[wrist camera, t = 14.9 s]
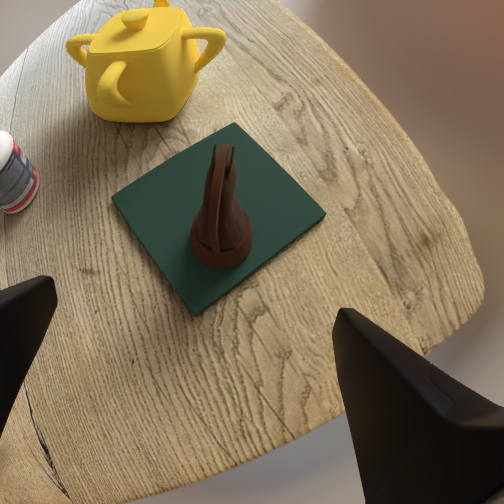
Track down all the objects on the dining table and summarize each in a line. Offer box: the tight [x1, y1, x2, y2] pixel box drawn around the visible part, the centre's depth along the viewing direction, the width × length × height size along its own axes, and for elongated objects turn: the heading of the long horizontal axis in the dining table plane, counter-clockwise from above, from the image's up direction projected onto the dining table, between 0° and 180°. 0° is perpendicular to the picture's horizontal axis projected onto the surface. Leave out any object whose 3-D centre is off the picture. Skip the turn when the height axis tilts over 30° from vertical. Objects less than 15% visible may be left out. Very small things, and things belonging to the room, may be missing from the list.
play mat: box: [111, 122, 326, 316], centre depth 25 cm, size 12×13×1 cm
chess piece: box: [190, 143, 253, 269], centre depth 19 cm, size 5×5×10 cm
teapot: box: [66, 0, 227, 122], centre depth 25 cm, size 14×13×10 cm
